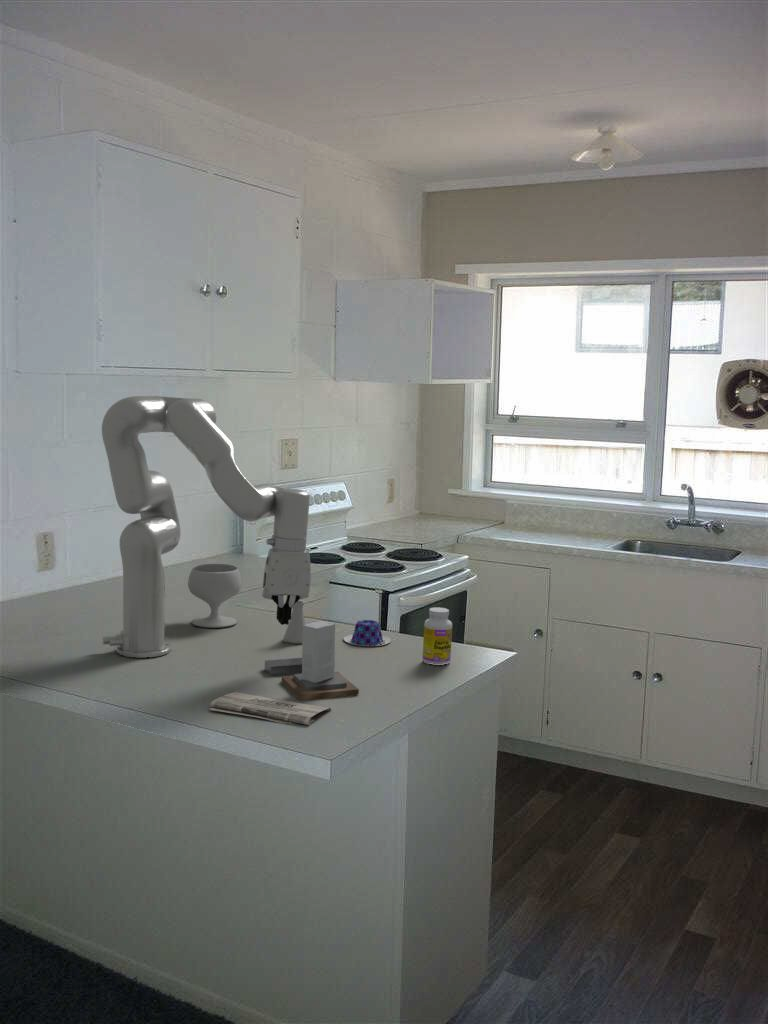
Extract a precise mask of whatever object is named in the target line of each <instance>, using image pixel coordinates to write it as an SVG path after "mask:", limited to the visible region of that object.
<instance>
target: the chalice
mask: <svg viewBox="0 0 768 1024" xmlns="http://www.w3.org/2000/svg"><path fill="white" fill-rule="evenodd" d="M187 587H188V590H189V593H191V594H192V595H193V596H195V597H196V598H198V599H200V600H202V601H203V602H205V603H206V604H207V605H208V606H209V607H210V614H209V615H204V616H199V617H195V618H194V619H192V620H191V621H190V622H191V624H192V625H193V626H196V627H199V628H208V629H216V628H218V629H219V628H227V627H228V628H229V627H232V626H235V625H236V624H238V620H237V619H236V618H234V617H230V616H227V615H226V616H225V615H220V614H219V608H220V607H221V605H222V604H223V603H224V602H226V601H228V600H229V599H231V598H233V597H235V596H237V595H238V593H240V591H241V589H242V576H241V573H240V571H239V568H238V567H237V566H235V565H231V564H225V563H204V564H197V565H195V566H193V567H192V569H191V571H190V573H189V576H188V581H187Z"/></svg>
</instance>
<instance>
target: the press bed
mask: <svg viewBox="0 0 768 1024" xmlns="http://www.w3.org/2000/svg"><path fill="white" fill-rule="evenodd" d="M281 683H283V685H284V686H285V687H286V688H287V689H288V690H289V691H290V692H291V693H292V694H293V696H295V697H296V698H297V699H298V700H299V701H307V700H316V699H317V700H318V699H326V698H327V699H328V698H329V697H330V698H337V697H336V696H341V697H346V696H345V695H351V696H355V695H354V694H359V693H360V689H359V688H358V687H357V686H355V685H354V684H353V683H352V682H350V680H349V679H347V677H345V676H343V674H341V673H340V672H339V671H334V677H333V678H330V679H327V680H324V681H321V682H318V683H312V682H309V681H306V680H303V679H302V673H295V674H292V675H282V676H281Z"/></svg>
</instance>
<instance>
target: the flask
mask: <svg viewBox="0 0 768 1024" xmlns="http://www.w3.org/2000/svg"><path fill="white" fill-rule="evenodd" d="M304 605H305V601H304V600H303V601H302V600H298V601H297V602H296V603H295V604H294V606H293V607H292V611H291V620H289V624H288V625H287V628H286V630H285V633H284V635H283V638H282V640H283V642H284V643H288V644H289V643H290V644H302V642H303V625H306V624H307V622H306V619H305V616H304Z"/></svg>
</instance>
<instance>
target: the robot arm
mask: <svg viewBox="0 0 768 1024" xmlns="http://www.w3.org/2000/svg"><path fill="white" fill-rule="evenodd" d="M216 422H217V413H216V411H215V408H214V407H213V405H212V404H210V403H209V402H208V401H206V400H204V399H201V398H188V397H187V398H186V397H185V398H184V397H173V396H171V397H170V396H161V395H160V396H157V395H145V396H144V395H140V396H139V395H138V396H137V395H136V396H128V397H125V398H121V399H120V400H118V401H116V402H115V403H113V404H112V405H111V406H110V407H109V408H108V410H107V411H106V412H105V414H104V416H103V419H102V423H101V437H102V441H103V445H104V448H105V453H106V456H107V460H108V466H109V472H110V477H111V481H112V482H111V483H112V486H113V490H114V495H115V499H116V503H117V506H118V507H119V508H120V509H121V511H122V512H124V513H126V514H129V515H136V514H139V515H140V519H136V520H134V521H131V522H130V523H128V524H127V525H126V526H125V527H124V528H123V530H122V531H121V534H120V537H119V552H120V556H121V557H120V558H121V562H122V563H121V564H122V579H123V580H122V594H123V597H122V599H123V600H122V601H123V603H122V604H123V608H122V609H123V611H122V613H123V615H122V617H123V618H122V620H123V621H122V623H123V624H122V626H123V628H122V629H123V630H120V633H118V634H116V635H114V636H113V635H112V636H111V635H108V636H107V635H103V636H102V646H103V645H109V647H113V646H116V647H115V648H116V651H117V652H116V653H117V654H118V653H119V654H118V655H120V656H122V655H123V657H127V658H134V657H135V658H138V659H141V658H143V659H146V658H147V657H149V658H155V657H156V658H157V657H160V656H161V657H162V656H165V655H167V654H168V653H170V652H171V650H172V646H171V645H172V644H170V642H167V641H165V622H166V621H165V618H166V616H165V613H166V612H165V610H166V609H165V605H166V604H165V599H166V597H165V596H166V595H165V594H166V588H165V587H166V586H165V584H166V583H165V582H166V581H165V578H166V577H165V569H164V565H163V562H162V560H163V559H162V555H164V554H168V553H170V552H172V551H174V549H175V548H177V546H178V545H179V542H180V540H181V526H180V520H179V515H178V510H177V505H176V501H175V496H174V492H173V489H172V486H171V483H170V482H169V479H167V477H166V476H165V475H163V474H162V473H161V472H158V471H157V470H149V465H148V462H147V456H146V453H145V450H144V448H143V445H142V443H141V442H140V440H139V435H140V434H144V433H145V434H146V433H147V434H148V433H158V432H159V433H172V434H173V435H174V436H175V437H176V438H177V439H178V440H179V442H180V443H182V444H183V445H184V446H185V448H186V449H187V451H189V453H191V454H192V455H193V457H194V458H195V459H196V460H197V461H198V462H199V463H200V464H201V466H202V467H203V469H204V470H205V473H206V476H207V478H208V480H209V482H210V483H211V486H212V488H213V489H214V491H215V493H216V494H217V496H218V497H219V498H220V499H221V500H222V501H223V503H224V504H226V506H227V507H228V508H229V509H230V510H231V512H233V513H234V514H235V515H236V517H238V518H240V519H241V520H244V521H247V522H256V521H259V520H262V519H265V518H269V517H274V519H273V520H274V521H273V530H272V531H273V533H272V537H270V538H267V539H266V545H269V546H271V547H270V548H269V550H268V554H267V557H266V562H265V566H264V572H263V577H262V578H263V579H262V580H263V581H262V586H263V587H262V588H263V590H262V593H261V596H262V598H264V599H267V600H272V601H273V602H274V603H275V604H276V620H277V621H278V623H279V624H280V625H281V626H282V625H283V626H284V625H286V626H288V625H289V622H290V620H291V616H292V611H293V606H294V604H295V603H296V602H297V601H300V600H304V599H308V598H309V593H310V591H311V581H312V580H311V576H312V575H311V573H312V572H311V555H310V550H307V549H306V547H307V539H308V538H307V535H308V524H309V523H308V522H309V511H310V494H309V493H308V492H307V491H305V490H302V489H296V488H283V487H281V486H280V487H279V486H276V485H272V484H267V483H260V484H257V485H253V484H252V483H251V482H250V481H249V480H248V479H247V478H246V477H245V476H244V474H242V472H241V470H240V469H239V467H238V465H237V464H236V462H235V461H236V460H235V459H234V453H235V447H234V443H233V442H232V441H231V439H230V438H229V437H228V436H227V435H226V434H225V433H224V432H223V431H222V430H221V429H220V428H219V427H218V426H217V424H216ZM284 596H286V599H285V601H284ZM147 659H148V658H147Z"/></svg>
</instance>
